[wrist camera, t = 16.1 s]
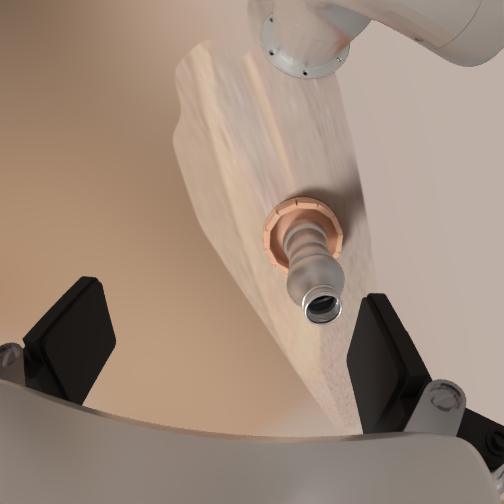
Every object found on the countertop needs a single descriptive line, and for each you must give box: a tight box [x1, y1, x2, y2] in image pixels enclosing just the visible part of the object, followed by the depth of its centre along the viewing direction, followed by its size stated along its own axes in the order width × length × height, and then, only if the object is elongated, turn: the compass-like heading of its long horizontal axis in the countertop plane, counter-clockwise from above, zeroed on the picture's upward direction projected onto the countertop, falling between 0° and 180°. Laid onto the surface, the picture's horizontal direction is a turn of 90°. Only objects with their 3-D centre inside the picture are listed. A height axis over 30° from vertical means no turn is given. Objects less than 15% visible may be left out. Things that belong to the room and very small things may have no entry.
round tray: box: [263, 197, 343, 274], centre depth 46 cm, size 12×12×3 cm
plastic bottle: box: [282, 218, 345, 325], centre depth 37 cm, size 6×7×20 cm
